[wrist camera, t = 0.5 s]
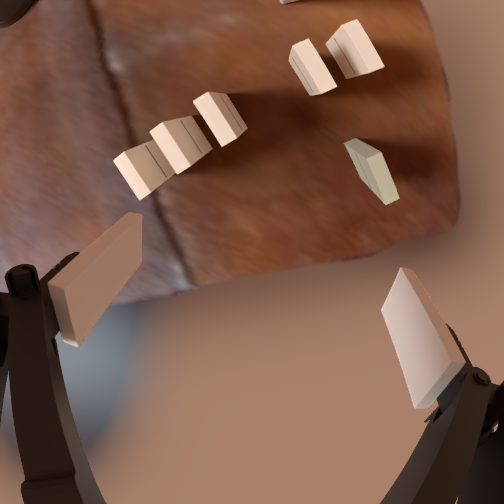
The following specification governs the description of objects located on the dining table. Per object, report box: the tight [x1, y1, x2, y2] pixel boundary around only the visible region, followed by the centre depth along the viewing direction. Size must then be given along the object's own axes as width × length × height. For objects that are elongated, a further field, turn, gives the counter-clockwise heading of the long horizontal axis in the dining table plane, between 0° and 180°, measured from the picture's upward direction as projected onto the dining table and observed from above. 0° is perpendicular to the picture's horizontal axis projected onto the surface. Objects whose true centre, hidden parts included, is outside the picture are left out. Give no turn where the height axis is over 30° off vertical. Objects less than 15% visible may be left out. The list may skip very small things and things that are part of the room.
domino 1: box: [113, 140, 176, 200], centre depth 32 cm, size 5×2×10 cm, turn 30°
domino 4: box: [289, 39, 337, 96], centre depth 26 cm, size 5×2×10 cm, turn 31°
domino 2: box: [150, 116, 213, 175], centre depth 31 cm, size 5×2×10 cm, turn 30°
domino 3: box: [193, 92, 248, 147], centre depth 29 cm, size 5×2×10 cm, turn 30°
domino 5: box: [326, 20, 385, 79], centre depth 25 cm, size 5×2×10 cm, turn 30°
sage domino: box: [344, 138, 400, 205], centre depth 30 cm, size 5×2×10 cm, turn 30°
